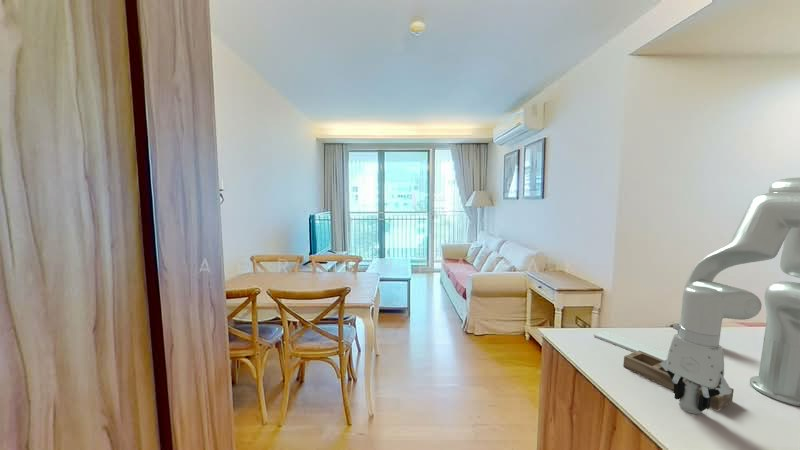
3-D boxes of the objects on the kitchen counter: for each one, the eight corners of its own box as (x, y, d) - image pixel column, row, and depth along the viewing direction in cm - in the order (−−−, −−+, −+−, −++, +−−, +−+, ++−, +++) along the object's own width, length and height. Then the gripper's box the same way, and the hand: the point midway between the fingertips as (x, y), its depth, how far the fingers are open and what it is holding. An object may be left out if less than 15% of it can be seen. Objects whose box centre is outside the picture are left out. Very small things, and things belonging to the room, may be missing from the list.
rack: (638, 360, 106) (639, 350, 106) (732, 401, 86) (733, 389, 85) (623, 366, 102) (624, 356, 102) (717, 410, 82) (719, 398, 82)
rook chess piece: (684, 413, 81) (688, 384, 80) (674, 402, 85) (677, 374, 84) (705, 416, 80) (709, 386, 79) (694, 404, 84) (697, 376, 83)
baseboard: (607, 332, 128) (593, 338, 123) (607, 325, 128) (594, 331, 123) (707, 368, 103) (695, 377, 98) (708, 360, 102) (696, 369, 97)
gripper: (652, 325, 86) (645, 388, 88) (738, 354, 71) (728, 430, 73) (666, 320, 90) (660, 381, 92) (752, 347, 75) (742, 419, 77)
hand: (690, 402), depth 82 cm, fingers closed on rook chess piece, 4 cm apart
